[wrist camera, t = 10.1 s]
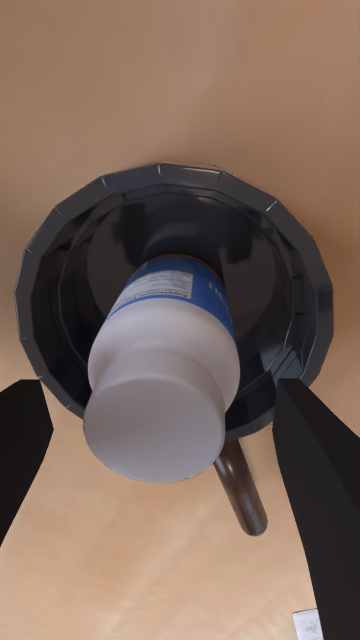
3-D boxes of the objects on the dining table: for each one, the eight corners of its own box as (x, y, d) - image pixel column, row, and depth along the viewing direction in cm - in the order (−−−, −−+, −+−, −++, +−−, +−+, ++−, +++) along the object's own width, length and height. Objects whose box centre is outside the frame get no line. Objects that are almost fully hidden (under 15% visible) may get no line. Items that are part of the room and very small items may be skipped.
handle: (196, 411, 19) (196, 435, 18) (227, 403, 19) (230, 427, 17) (241, 517, 23) (244, 544, 22) (267, 512, 23) (272, 540, 21)
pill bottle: (232, 337, 19) (260, 497, 10) (139, 349, 20) (90, 509, 11) (219, 240, 17) (241, 342, 8) (114, 258, 17) (26, 370, 9)
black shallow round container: (140, 420, 23) (127, 479, 19) (4, 248, 18) (-53, 276, 14) (338, 340, 19) (374, 390, 15) (236, 96, 14) (250, 76, 10)
